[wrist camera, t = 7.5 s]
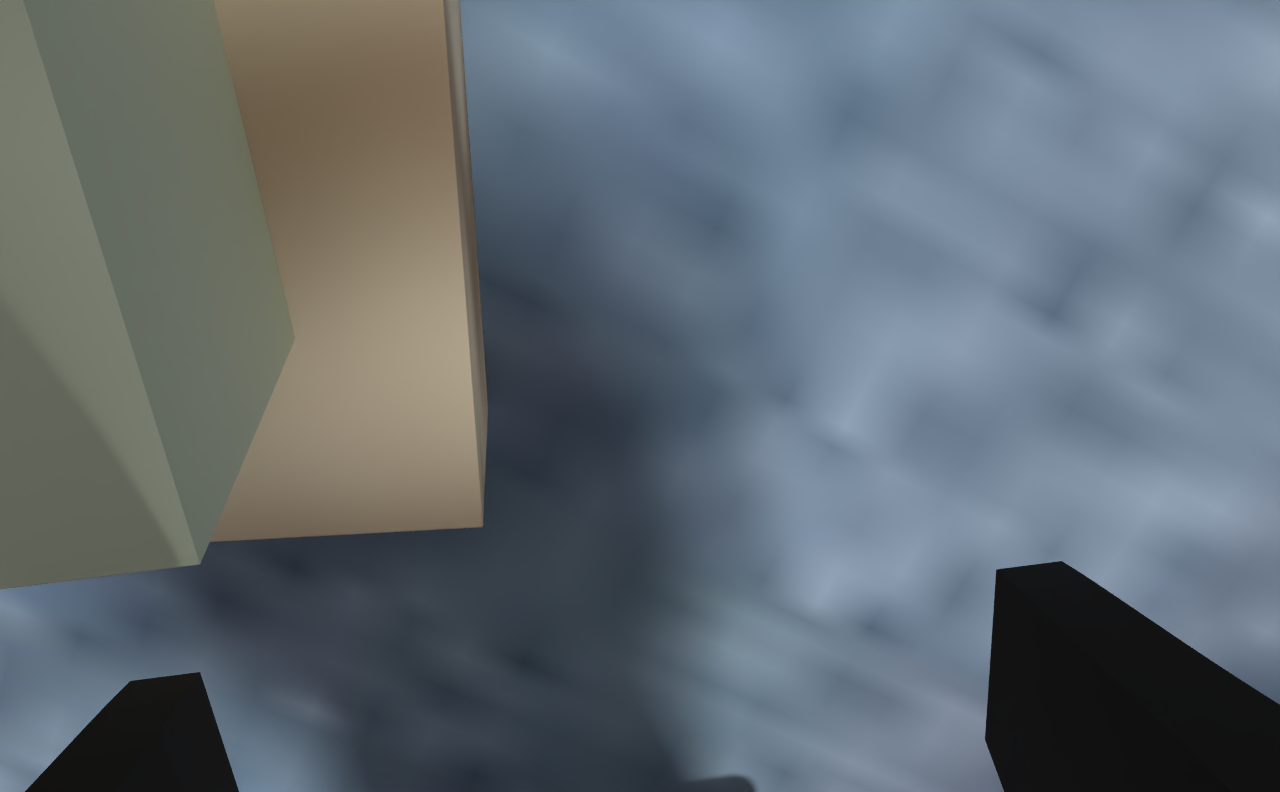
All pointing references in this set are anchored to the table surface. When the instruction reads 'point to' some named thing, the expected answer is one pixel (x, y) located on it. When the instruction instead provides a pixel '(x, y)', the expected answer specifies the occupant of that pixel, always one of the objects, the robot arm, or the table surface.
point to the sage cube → (126, 288)
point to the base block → (363, 268)
